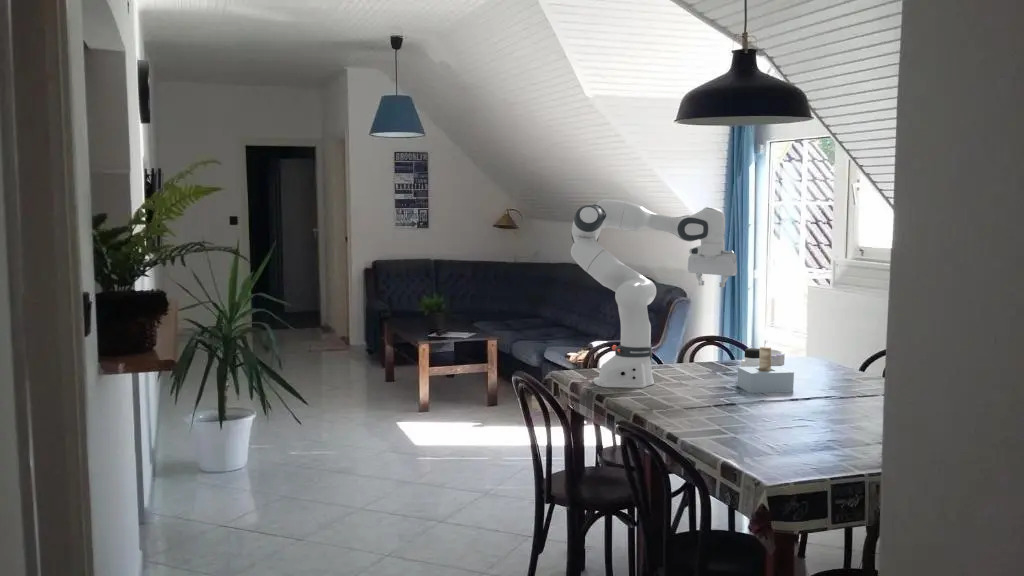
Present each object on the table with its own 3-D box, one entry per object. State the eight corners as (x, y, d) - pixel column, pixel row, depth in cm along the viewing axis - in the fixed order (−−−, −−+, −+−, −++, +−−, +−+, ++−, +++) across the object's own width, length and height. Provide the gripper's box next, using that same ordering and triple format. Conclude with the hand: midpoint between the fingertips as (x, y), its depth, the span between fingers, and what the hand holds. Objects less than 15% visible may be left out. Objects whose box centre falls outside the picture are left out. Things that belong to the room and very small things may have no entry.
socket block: (750, 392, 312) (751, 373, 311) (737, 385, 324) (737, 367, 323) (793, 391, 314) (793, 372, 314) (778, 384, 326) (779, 366, 325)
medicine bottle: (763, 381, 331) (764, 350, 330) (744, 381, 332) (745, 350, 330) (759, 377, 339) (760, 347, 337) (740, 377, 339) (741, 346, 338)
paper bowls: (770, 376, 342) (771, 356, 341) (737, 370, 353) (737, 351, 352) (791, 371, 352) (792, 351, 351) (758, 365, 363) (758, 346, 362)
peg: (763, 387, 316) (764, 349, 315) (756, 385, 320) (757, 347, 318) (772, 386, 318) (773, 348, 316) (766, 384, 321) (766, 346, 320)
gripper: (740, 251, 331) (739, 287, 332) (695, 248, 345) (694, 283, 347) (731, 251, 326) (730, 288, 328) (685, 249, 341) (685, 284, 343)
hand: (711, 286), depth 337 cm, fingers open, 8 cm apart
